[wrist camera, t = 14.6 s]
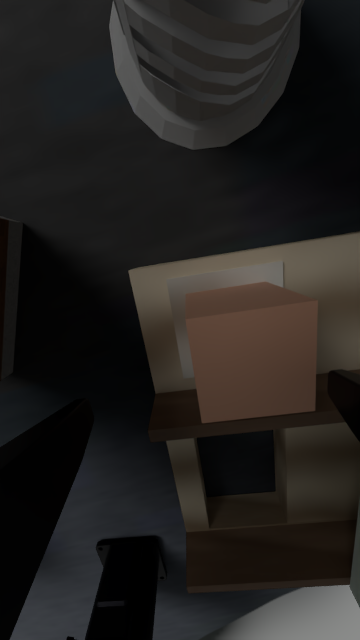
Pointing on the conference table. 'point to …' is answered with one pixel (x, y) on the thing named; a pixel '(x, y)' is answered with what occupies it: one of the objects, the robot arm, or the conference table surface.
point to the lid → (356, 563)
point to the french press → (204, 64)
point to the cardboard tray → (261, 424)
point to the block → (252, 351)
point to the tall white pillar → (9, 290)
